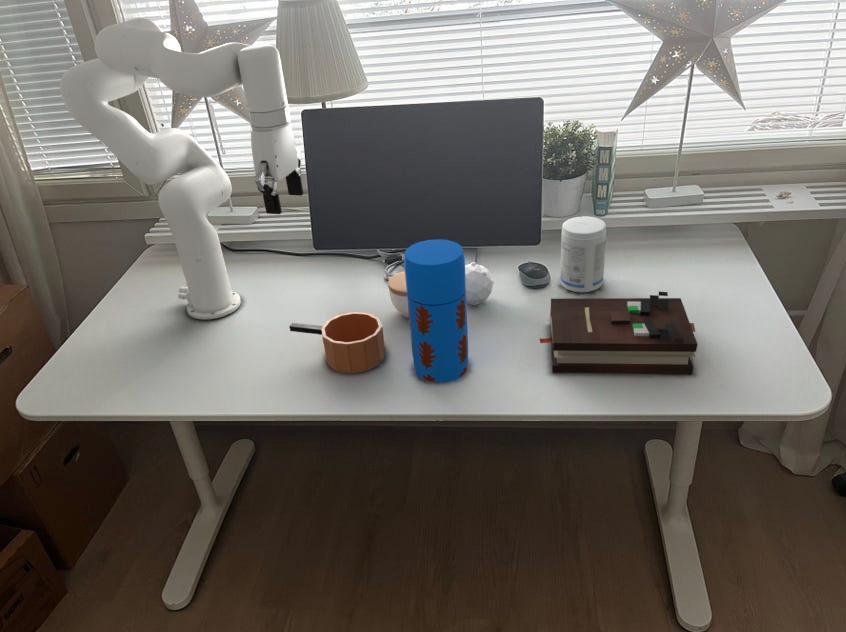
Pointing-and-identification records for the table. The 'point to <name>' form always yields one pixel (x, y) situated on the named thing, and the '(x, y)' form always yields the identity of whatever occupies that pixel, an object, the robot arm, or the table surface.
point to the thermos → (437, 309)
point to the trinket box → (399, 293)
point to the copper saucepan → (350, 341)
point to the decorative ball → (477, 283)
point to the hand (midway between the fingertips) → (285, 203)
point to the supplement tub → (582, 254)
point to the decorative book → (621, 336)
